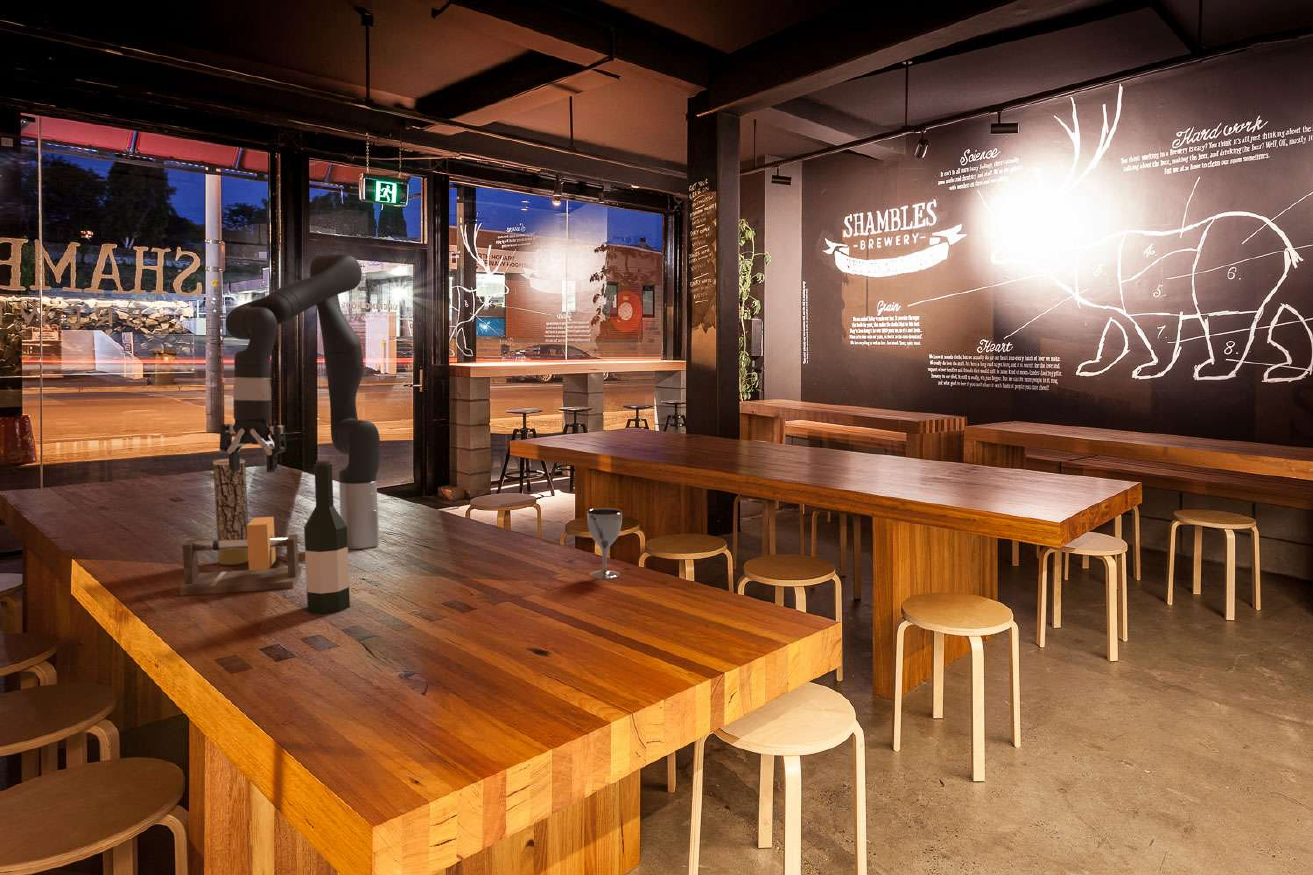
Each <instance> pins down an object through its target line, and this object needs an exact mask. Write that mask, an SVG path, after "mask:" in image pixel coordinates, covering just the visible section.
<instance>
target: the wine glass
mask: <svg viewBox="0 0 1313 875" xmlns="http://www.w3.org/2000/svg"><path fill="white" fill-rule="evenodd" d="M586 518H587V526H588V527H587V528H588V531H589V534H590V537H591V538H592V539H593V540H594V542H595V543H596V544H597V545H598V546H599V548H600V551H601V554H602V569H601V570H596V571H592V572H590V573H589V577H591V578H592V579H593V578H594V579H598V580H610V579H616V578H618V577H620V575H621V574H620V572H618V571H616V570H609V569H607V568H608V567H607V560H608V559H607V558H608V552H609V549H610V547H611V545H612V544H614V542H615V541H616V540H617V539H618V537H619V536H620V533H621V529H622V528H621V527H622V525H623V524H622V523H623V521H622V520H623V511H622V510H621V509H618V508H614V507H612V508H611V507H596V508H592V509H589V510H587V517H586Z"/></svg>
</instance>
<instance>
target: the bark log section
mask: <svg viewBox="0 0 1313 875" xmlns="http://www.w3.org/2000/svg"><path fill="white" fill-rule="evenodd" d="M245 460H246V459H244V458H240V470H238V471H231V468H230V467H229V458H224V459H216V460H213V461H212V462H213V463H212V464H213V486H214V501H215V520H216V521H215V522H216V525H215V526H216V540H220V541H223V540H243V539H247V524H248V523H249V514H248V513H249V511H248V494H247V493H248V492H247V472H246V461H245ZM217 553H218V554H217V555H218V556H217V557H218V558H217V559H218V563H219V564H220V565H223V566H236V565H237V566H238V565H242V564H246V563H249V561H248V548H245V549H226V550H217Z"/></svg>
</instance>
